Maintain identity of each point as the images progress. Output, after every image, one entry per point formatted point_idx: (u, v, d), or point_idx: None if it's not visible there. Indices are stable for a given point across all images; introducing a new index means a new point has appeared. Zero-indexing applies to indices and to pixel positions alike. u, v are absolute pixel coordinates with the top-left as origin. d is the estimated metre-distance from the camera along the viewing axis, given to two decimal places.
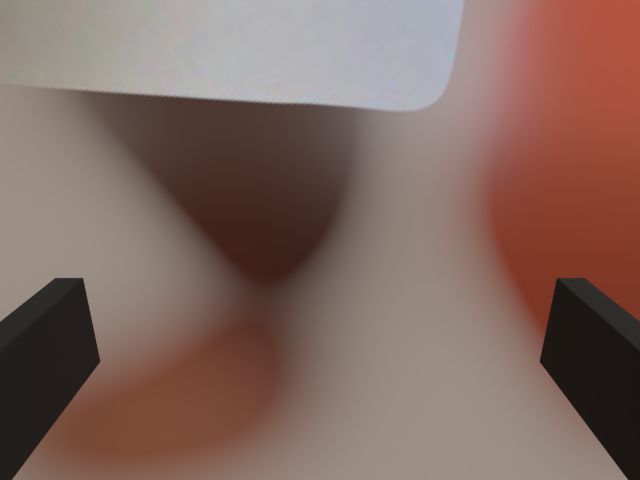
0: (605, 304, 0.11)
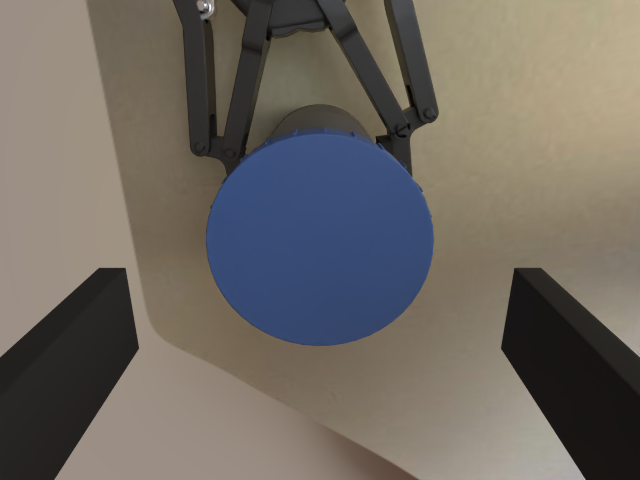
0: (555, 292, 0.11)
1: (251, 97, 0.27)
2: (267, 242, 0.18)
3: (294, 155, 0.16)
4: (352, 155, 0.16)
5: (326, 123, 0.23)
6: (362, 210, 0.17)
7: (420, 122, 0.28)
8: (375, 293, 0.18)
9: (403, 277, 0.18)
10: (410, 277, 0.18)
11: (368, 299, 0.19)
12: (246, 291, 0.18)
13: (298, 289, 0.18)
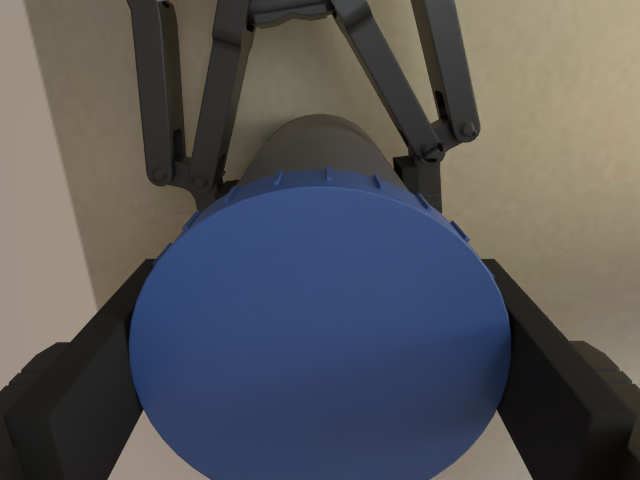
0: (502, 281, 0.12)
1: (227, 108, 0.20)
2: (232, 361, 0.10)
3: (275, 222, 0.09)
4: (377, 222, 0.09)
5: (329, 149, 0.16)
6: (392, 311, 0.10)
7: (454, 141, 0.21)
8: (410, 435, 0.11)
9: (457, 413, 0.11)
10: (469, 413, 0.11)
11: (399, 444, 0.11)
12: (200, 433, 0.11)
13: (285, 430, 0.11)
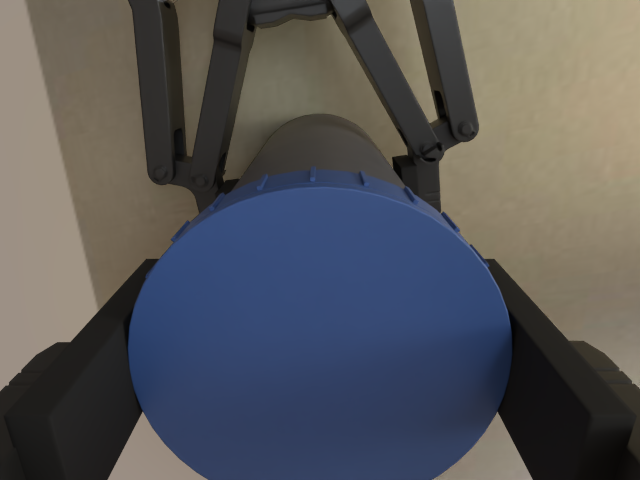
0: (502, 281, 0.12)
1: (228, 107, 0.20)
2: (289, 437, 0.11)
3: (157, 374, 0.11)
4: (168, 296, 0.10)
5: (329, 148, 0.16)
6: (266, 299, 0.10)
7: (453, 140, 0.21)
8: (430, 306, 0.10)
9: (413, 255, 0.09)
10: (417, 243, 0.09)
11: (437, 319, 0.10)
12: (362, 479, 0.12)
13: (381, 415, 0.11)
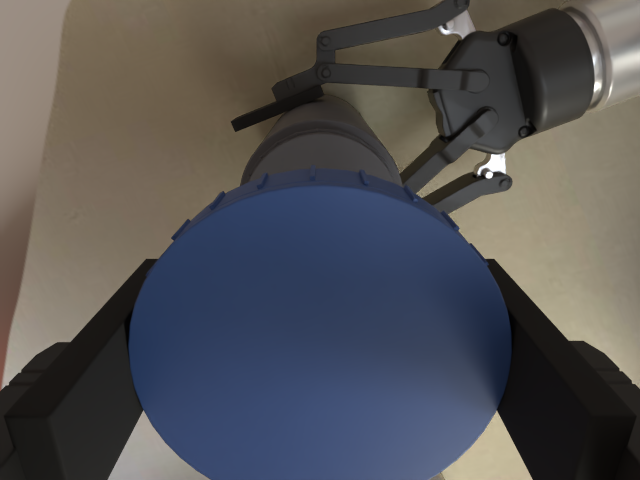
0: (502, 281, 0.12)
1: (380, 84, 0.30)
2: (289, 435, 0.11)
3: (157, 372, 0.11)
4: (168, 294, 0.10)
5: None
6: (266, 297, 0.10)
7: None
8: (429, 304, 0.10)
9: (413, 253, 0.10)
10: (417, 241, 0.09)
11: (437, 318, 0.10)
12: (362, 477, 0.12)
13: (381, 414, 0.11)
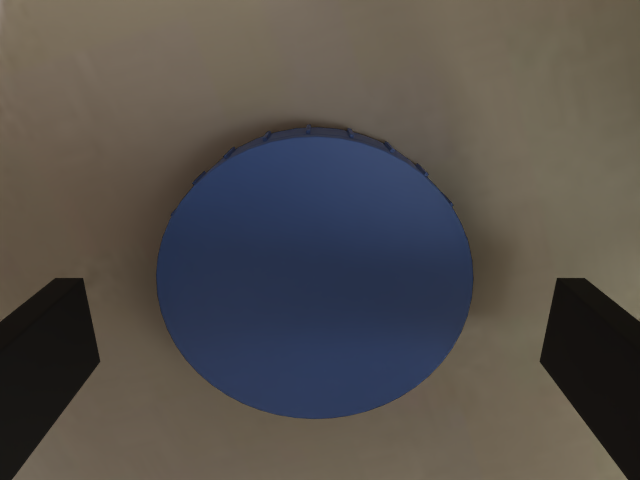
0: (606, 305, 0.11)
1: None
2: (289, 353, 0.13)
3: (180, 297, 0.13)
4: (190, 229, 0.12)
5: None
6: (270, 231, 0.12)
7: None
8: (404, 238, 0.12)
9: (390, 194, 0.12)
10: (393, 183, 0.12)
11: (411, 249, 0.12)
12: (350, 390, 0.14)
13: (366, 333, 0.13)
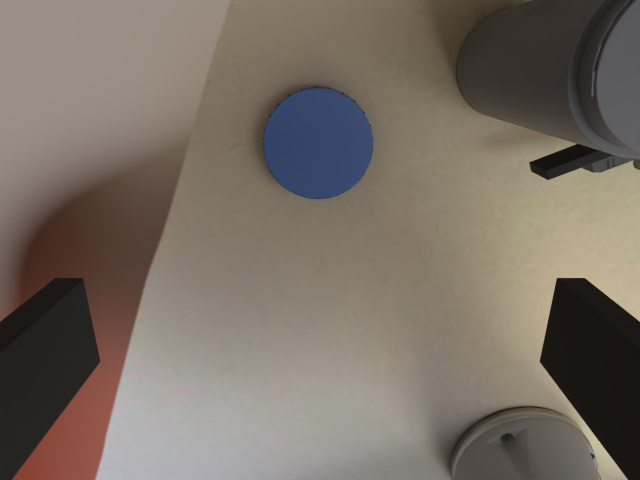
0: (606, 305, 0.11)
1: None
2: (308, 169, 0.37)
3: (271, 146, 0.37)
4: (276, 120, 0.36)
5: None
6: (303, 121, 0.36)
7: None
8: (348, 124, 0.36)
9: (342, 108, 0.36)
10: (343, 104, 0.36)
11: (350, 128, 0.36)
12: (331, 186, 0.38)
13: (336, 161, 0.37)
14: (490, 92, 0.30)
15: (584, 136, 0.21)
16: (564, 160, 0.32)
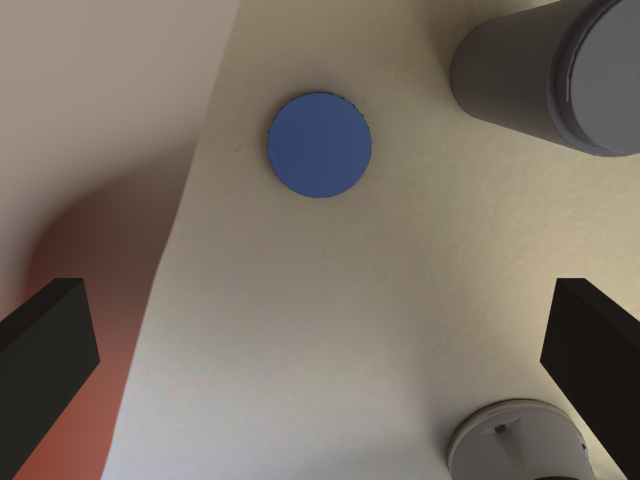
0: (605, 304, 0.11)
1: None
2: (310, 169, 0.40)
3: (275, 148, 0.39)
4: (280, 123, 0.38)
5: None
6: (305, 124, 0.38)
7: None
8: (347, 126, 0.38)
9: (342, 111, 0.38)
10: (343, 108, 0.38)
11: (350, 130, 0.38)
12: (331, 185, 0.40)
13: (336, 162, 0.39)
14: (480, 97, 0.32)
15: (562, 137, 0.23)
16: None
